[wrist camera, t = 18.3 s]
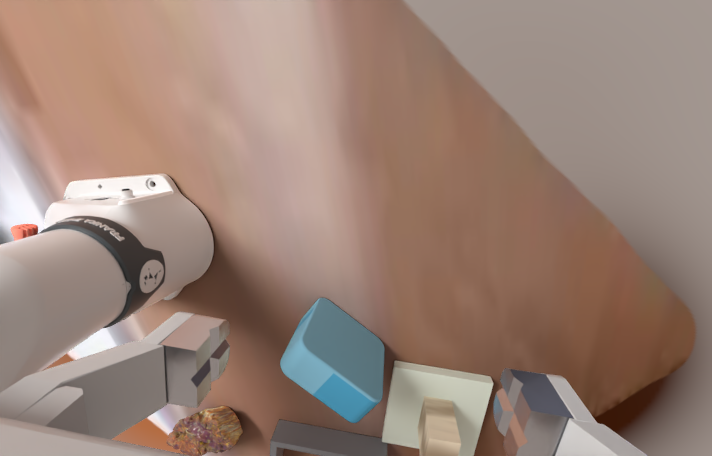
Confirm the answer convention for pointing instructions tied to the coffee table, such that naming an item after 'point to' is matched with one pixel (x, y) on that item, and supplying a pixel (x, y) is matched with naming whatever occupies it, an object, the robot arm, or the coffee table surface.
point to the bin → (323, 441)
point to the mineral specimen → (206, 432)
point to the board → (437, 383)
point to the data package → (336, 361)
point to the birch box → (438, 428)
